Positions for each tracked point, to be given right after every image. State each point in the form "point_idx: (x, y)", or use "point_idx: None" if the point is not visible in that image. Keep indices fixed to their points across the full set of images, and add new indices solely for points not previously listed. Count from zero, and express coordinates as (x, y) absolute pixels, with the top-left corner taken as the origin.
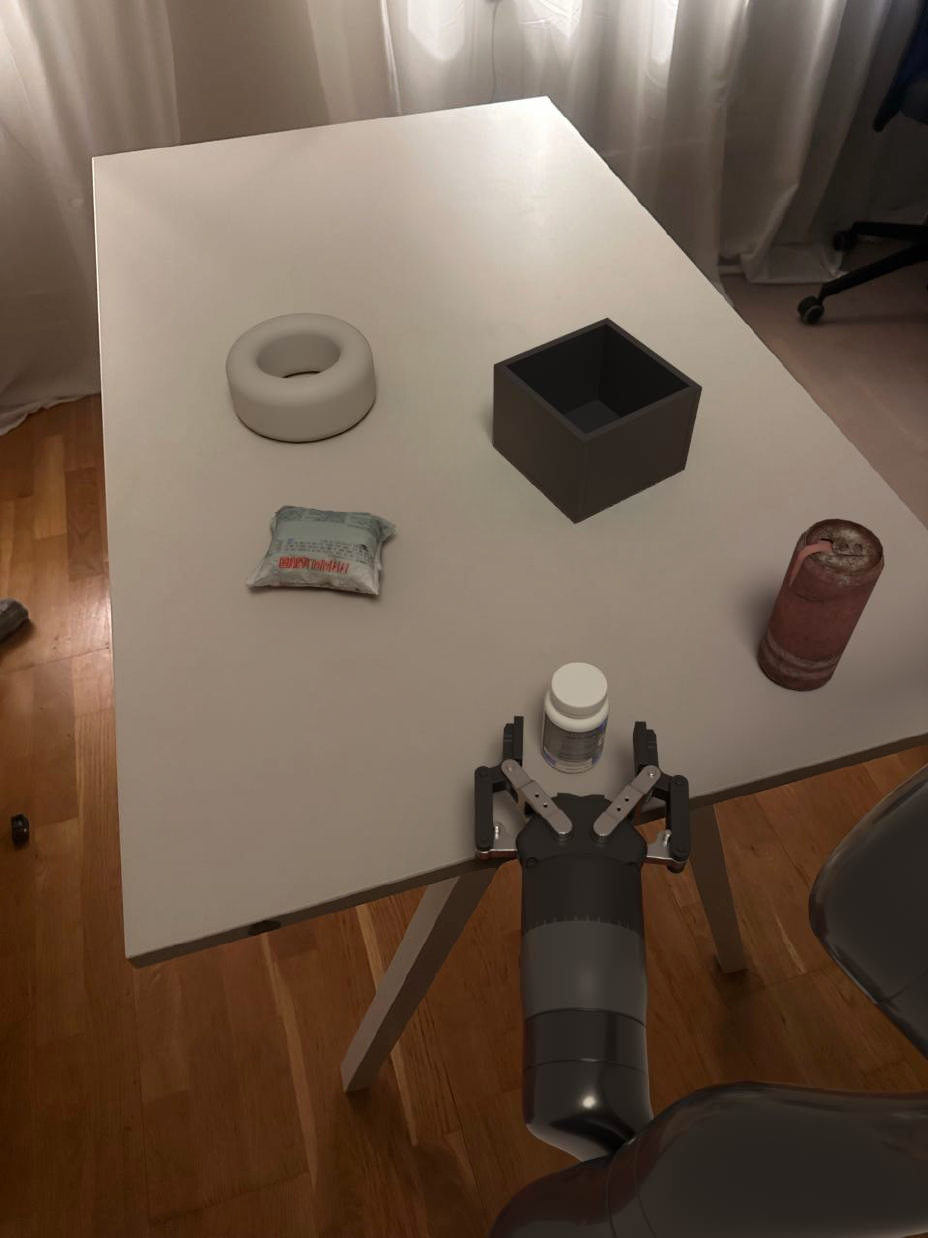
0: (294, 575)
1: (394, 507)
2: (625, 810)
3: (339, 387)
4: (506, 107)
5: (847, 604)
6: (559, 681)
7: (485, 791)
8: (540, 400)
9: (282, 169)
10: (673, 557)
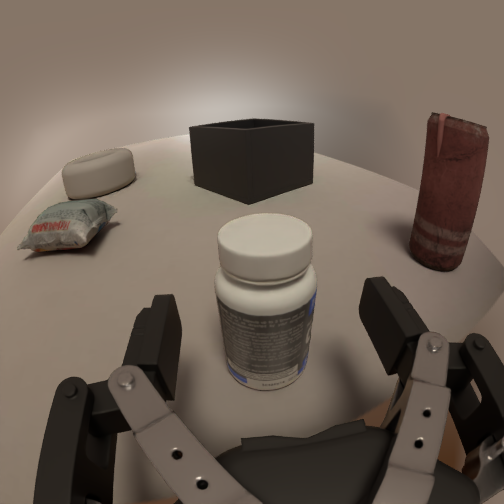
0: (40, 237)
1: (126, 212)
2: (434, 439)
3: (108, 161)
4: None
5: (481, 160)
6: (231, 231)
7: (66, 430)
8: (215, 127)
9: (127, 148)
10: (322, 213)
